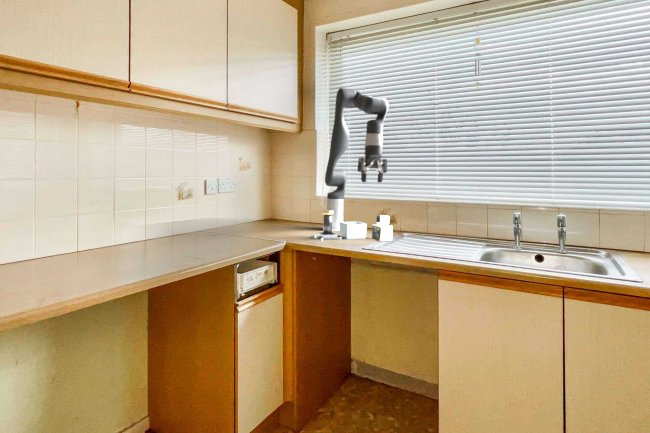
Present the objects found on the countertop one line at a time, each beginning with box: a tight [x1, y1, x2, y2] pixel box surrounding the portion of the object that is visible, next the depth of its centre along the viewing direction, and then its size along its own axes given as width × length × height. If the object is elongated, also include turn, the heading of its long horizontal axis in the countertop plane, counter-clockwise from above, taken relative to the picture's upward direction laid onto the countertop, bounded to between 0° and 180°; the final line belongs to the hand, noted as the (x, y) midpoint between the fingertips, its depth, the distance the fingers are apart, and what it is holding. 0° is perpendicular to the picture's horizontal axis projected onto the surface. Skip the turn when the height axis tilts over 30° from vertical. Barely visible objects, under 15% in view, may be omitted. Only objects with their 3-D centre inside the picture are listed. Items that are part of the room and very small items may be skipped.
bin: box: [338, 221, 368, 240], centre depth 182 cm, size 9×10×8 cm
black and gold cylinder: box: [322, 209, 333, 235], centre depth 177 cm, size 5×5×13 cm
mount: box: [311, 231, 345, 242], centre depth 178 cm, size 12×12×3 cm
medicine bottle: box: [371, 214, 394, 242], centre depth 184 cm, size 7×7×12 cm
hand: (371, 182), depth 168 cm, fingers open, 8 cm apart
